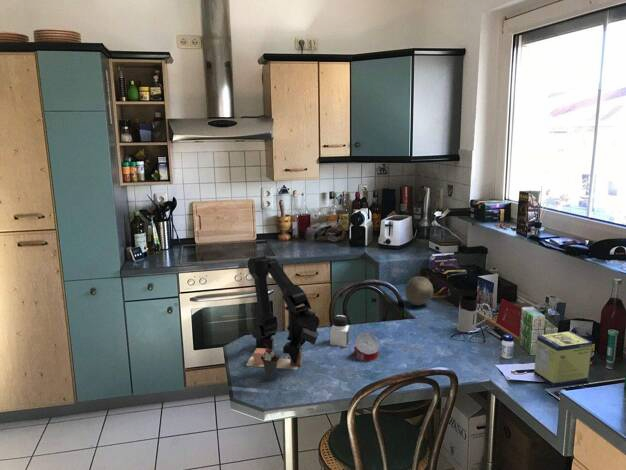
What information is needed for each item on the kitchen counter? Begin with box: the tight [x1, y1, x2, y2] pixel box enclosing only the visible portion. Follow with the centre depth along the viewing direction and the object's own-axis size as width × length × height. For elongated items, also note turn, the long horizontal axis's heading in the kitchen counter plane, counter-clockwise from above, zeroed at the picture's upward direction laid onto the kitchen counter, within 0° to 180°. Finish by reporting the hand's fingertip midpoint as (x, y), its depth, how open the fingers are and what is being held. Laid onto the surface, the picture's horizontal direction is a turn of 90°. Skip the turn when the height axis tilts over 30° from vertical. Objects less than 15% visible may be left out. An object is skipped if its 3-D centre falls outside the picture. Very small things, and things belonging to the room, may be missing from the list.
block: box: [253, 348, 266, 365], centre depth 200 cm, size 4×4×4 cm
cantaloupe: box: [404, 276, 434, 306], centre depth 265 cm, size 14×14×15 cm
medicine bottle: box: [329, 314, 350, 348], centre depth 219 cm, size 7×7×12 cm
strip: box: [245, 350, 303, 370], centre depth 199 cm, size 21×8×6 cm, turn 81°
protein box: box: [533, 331, 593, 387], centre depth 188 cm, size 10×16×16 cm
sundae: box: [261, 344, 280, 382], centre depth 184 cm, size 7×7×15 cm
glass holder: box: [456, 294, 491, 333], centre depth 232 cm, size 9×14×15 cm, turn 54°
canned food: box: [353, 331, 380, 362], centre depth 208 cm, size 11×10×10 cm
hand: (296, 361), depth 198 cm, fingers open, 4 cm apart
